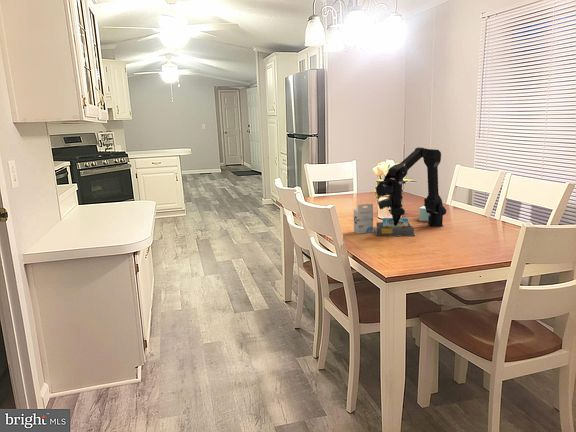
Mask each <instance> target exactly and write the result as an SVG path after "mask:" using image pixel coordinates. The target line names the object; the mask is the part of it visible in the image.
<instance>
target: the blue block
mask: <svg viewBox="0 0 576 432" xmlns="http://www.w3.org/2000/svg"><path fill="white" fill-rule="evenodd" d="M381 219H382V228H408V222H409V219H408V217H401V218H400V220H399V222H398V224H397V226H394V221H393V218H392V217H383V218H381Z"/></svg>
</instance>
